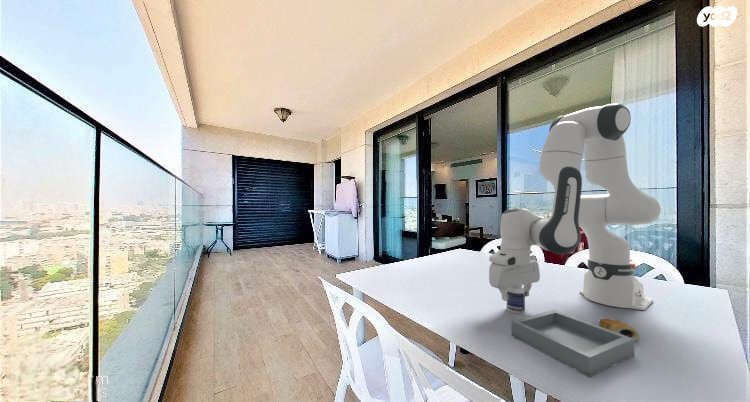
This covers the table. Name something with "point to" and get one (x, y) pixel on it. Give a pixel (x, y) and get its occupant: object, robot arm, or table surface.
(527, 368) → the table surface
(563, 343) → the tray
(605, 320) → the pastry
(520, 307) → the pill bottle
